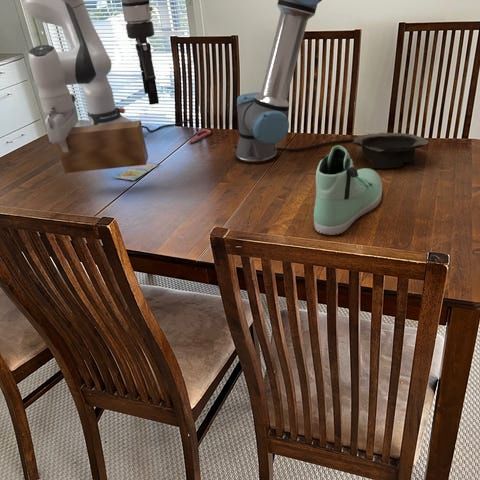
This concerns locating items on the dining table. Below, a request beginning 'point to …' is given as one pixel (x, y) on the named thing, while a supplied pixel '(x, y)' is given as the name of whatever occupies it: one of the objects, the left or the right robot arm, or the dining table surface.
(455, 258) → the dining table surface
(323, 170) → the sneaker
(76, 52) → the left robot arm
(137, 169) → the baking ingredient package
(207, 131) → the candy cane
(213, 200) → the dining table surface
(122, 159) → the box
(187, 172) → the dining table surface
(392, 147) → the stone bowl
